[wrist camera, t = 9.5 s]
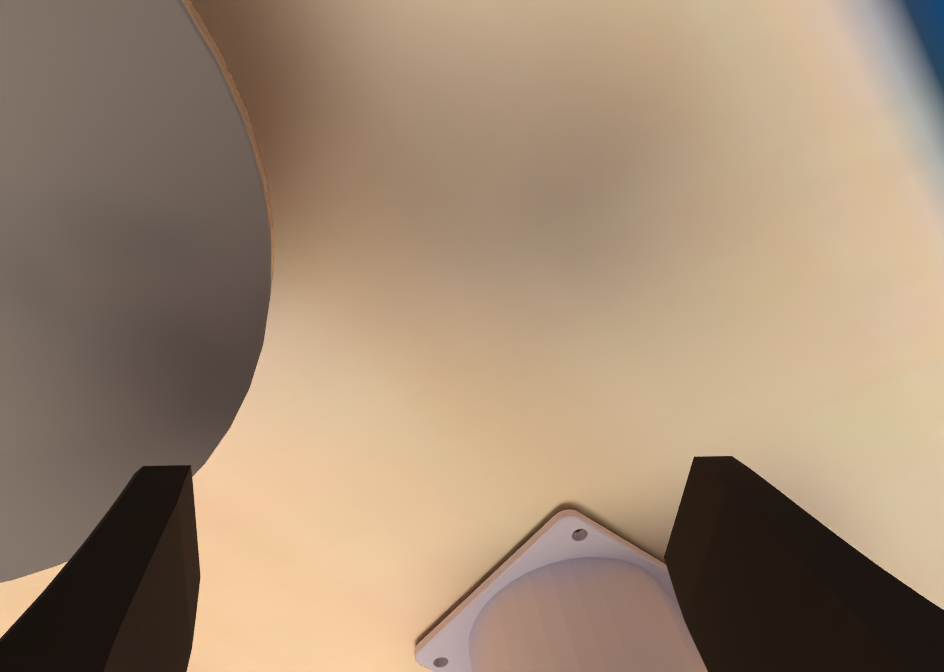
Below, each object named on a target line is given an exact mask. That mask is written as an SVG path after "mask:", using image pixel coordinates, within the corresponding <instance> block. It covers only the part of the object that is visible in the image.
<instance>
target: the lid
mask: <svg viewBox="0 0 944 672" xmlns="http://www.w3.org/2000/svg"><path fill="white" fill-rule="evenodd" d="M272 277H273V222H272V215H271V209H270V202H269V195H268V188H267V182H266V175H265V169H264V166H263V162H262V159H261V156H260V152H259V149H258V145H257V142H256V138H255V135H254V131H253V128H252V125H251V121H250V118H249V114H248V112H247V110H246V107H245V105H244V103H243V100H242V98H241V96H240V93H239V91H238V89H237V87H236V84H235V82H234V80H233V77H232V75H231V73H230V70H229V68H228V66H227V64H226V61H225V59H224V57H223V55H222V53H221V51H220V50H219V48H218V46H217V44H216V43H215V41H214V39H213V38H212V36H211V34H210V32H209V31H208V29H207V27H206V26H205V24H204V22H203V20H202V19H201V17H200V15H199V14H198V12H197V10H196V8H195V7H194V5H193V3H192V2H191V0H0V583H1V582H5V581H10V580H14V579H17V578H20V577H23V576H26V575H30V574H33V573H36V572H39V571H42V570H45V569H48V568H51V567H54V566H57V565H60V564H62V563H64V562H67V561H69V560H70V559H71V557H72V556H73V555H74V554H75V553H76V551H77V550H78V549H79V548H80V546H81V545H82V544H83V543H84V542H85V540H86V539H87V538H88V536H89V535H90V534H91V533H92V531H93V530H94V529H95V527H96V526H97V525H98V523H99V522H100V521H101V520H102V518H103V517H104V516H105V514H106V513H107V512H108V510H109V509H110V507H111V506H112V505H113V503H114V502H115V501H116V499H117V498H118V496H119V495H120V494H121V492H122V491H123V489H124V488H125V487H126V485H127V484H128V482H129V481H130V479H131V478H132V476H133V475H134V473H135V472H137V471H138V470H139V469H140V468H141V467H142V466H168V465H191V469H192V477H193V475H194V474H195V473H196V472H197V471H198V470H199V469H200V468H201V467H202V466H203V465H204V464H205V463H206V461H207V460H208V458H209V457H210V455H211V454H212V453H213V451H214V450H215V448H216V447H217V445H218V444H219V443H220V441H221V440H222V438H223V437H224V436H225V434H226V433H227V431H228V430H229V428H230V427H231V425H232V423H233V420H234V418H235V416H236V414H237V412H238V410H239V408H240V406H241V404H242V402H243V400H244V398H245V396H246V394H247V392H248V390H249V388H250V385H251V382H252V378H253V375H254V372H255V369H256V365H257V362H258V359H259V356H260V353H261V349H262V346H263V341H264V334H265V328H266V321H267V314H268V307H269V300H270V293H271V285H272Z"/></svg>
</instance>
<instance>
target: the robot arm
mask: <svg viewBox="0 0 944 672" xmlns="http://www.w3.org/2000/svg"><path fill="white" fill-rule="evenodd" d="M578 529H582V530H581V531H579V532H575V533H574V531H576V530H578ZM664 559H665V562H666V564H664V563H663V562H661V561H659V560H658V559H656V558H654V557H653V556H651V555H649V554H648V553H646V552H644V551H643V550H641V549H639V548H638V547H636V546H634V545H633V544H631V543H629V542H628V541H626V540H624V539H622V538H621V537H619V536H617V535H616V534H614V533H612V532H611V531H609V530H607V529H606V528H604V527H602V526H601V525H599V524H597V523H596V522H594V521H592V520H591V519H589V518H587V517H586V516H584V515H582V514H581V513H579V512H577V511H575V510H572V509H570V510H563V511H560V512H559V513H557V514H556V515H555V516H553V517H552V518H551V519H550V520H549V521H548V522H547V523H546V524H545V525H544V526H543V527H542V528H541V529H540V530H539V531H537V532H536V533H535V534H534V535H533V536H532V537H531V538H530V539H529V540H528V541H527V542H526V543H525V544H524V545H523V546H522V547H520V548H519V549H518V550H517V551H516V552H515V553H514V554H513V555H512V556H511V557H510V558H509V559H508V560H507V561H506V562H504V563H503V564H502V565H501V566H500V567H499V568H498V569H497V570H496V571H495V572H494V573H493V574H492V575H491V576H490V577H489V578H487V579H486V580H485V581H484V582H483V583H482V584H481V585H480V586H479V587H478V588H477V589H476V590H475V591H474V592H473V593H471V594H470V595H469V596H468V597H467V598H466V599H465V600H464V601H463V602H462V603H461V604H460V605H459V606H458V607H457V608H456V609H454V610H453V611H452V612H451V613H450V614H449V615H448V616H447V617H446V618H445V619H444V620H443V621H442V622H441V623H440V624H438V625H437V626H436V627H435V628H434V629H433V630H432V631H431V632H430V633H429V634H428V635H427V636H426V637H425V638H424V639H422V640H421V641H420V642H419V643H418V644H417V646H416V647H415V650H414V653H415V660H416V662H417V663H418V664H420V665H422V666H424V667H427V668H429V669H431V670H434V671H436V672H944V610H943V609H941V608H939V607H938V606H936V605H935V604H933V603H932V602H930V601H929V600H927V599H926V598H924V597H923V596H921V595H920V594H918V593H917V592H916V591H914V590H913V589H911V588H910V587H908V586H907V585H905V584H904V583H902V582H901V581H899V580H898V579H897V578H895V577H894V576H892V575H891V574H889V573H888V572H886V571H885V570H884V569H882V568H881V567H879V566H878V565H877V564H875V563H874V562H872V561H871V560H870V559H868V558H867V557H866V556H864V555H863V554H861V553H860V552H859V551H857V550H856V549H855V548H853V547H852V546H851V545H849V544H848V543H847V542H845V541H844V540H843V539H841V538H840V537H839V536H837V535H836V534H835V533H833V532H832V531H831V530H829V529H828V528H827V527H825V526H824V525H823V524H821V523H820V522H819V521H818V520H816V519H815V518H814V517H812V516H811V515H810V514H808V513H807V512H806V511H805V510H803V509H802V508H801V507H799V506H798V505H797V504H796V503H794V502H793V501H792V500H790V499H789V498H788V497H787V496H785V495H784V494H783V493H781V492H780V491H779V490H777V489H776V488H775V487H774V486H772V485H771V484H770V483H768V482H767V481H766V480H764V479H763V478H762V477H760V476H759V475H758V474H756V473H755V472H754V471H752V470H751V469H750V468H748V467H747V466H745V465H744V464H743V463H741V462H740V461H738V460H737V459H735V458H734V457H732V456H712V457H694V459H693V462H692V465H691V469H690V472H689V475H688V479H687V482H686V486H685V489H684V492H683V496H682V499H681V502H680V506H679V509H678V512H677V516H676V519H675V522H674V526H673V529H672V532H671V536H670V539H669V542H668V546H667V549H666V552H665V556H664ZM199 584H200V566H199V554H198V542H197V530H196V518H195V506H194V494H193V482H192V469H191V465H168V466H142V467H141V468H140V469H139V470H138V471H137V472H135V473H134V475H133V476H132V478H131V479H130V481H129V482H128V484H127V485H126V487H125V488H124V489H123V491H122V492H121V494H120V495H119V496H118V498H117V499H116V501H115V502H114V503H113V505H112V506H111V507H110V509H109V510H108V512H107V513H106V514H105V516H104V517H103V518H102V520H101V521H100V522H99V523H98V525H97V526H96V527H95V529H94V530H93V531H92V533H91V534H90V535H89V536H88V538H87V539H86V540H85V542H84V543H83V544H82V545H81V546H80V548H79V549H78V550H77V551H76V553H75V554H74V555H73V556H72V557H71V559H70V560H69V561H68V562H67V564H66V565H65V566H64V567H63V568H62V570H61V571H60V572H59V573H58V575H57V576H56V577H55V578H54V579H53V581H52V582H51V583H50V584H49V585H48V586H47V588H46V589H45V590H44V591H43V592H42V593H41V595H40V596H39V597H38V598H37V599H36V600H35V601H34V602H33V603H32V604H31V606H30V607H29V608H28V609H27V610H26V611H25V612H24V613H23V614H22V615H21V617H20V618H19V619H18V620H17V621H16V622H15V623H14V624H13V625H12V626H11V627H10V629H9V630H8V631H7V632H6V633H5V634H4V635H3V636H2V637H1V638H0V672H186V671H187V667H188V663H189V658H190V654H191V649H192V643H193V635H194V627H195V619H196V610H197V602H198V593H199ZM440 657H441V658H440Z"/></svg>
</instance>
